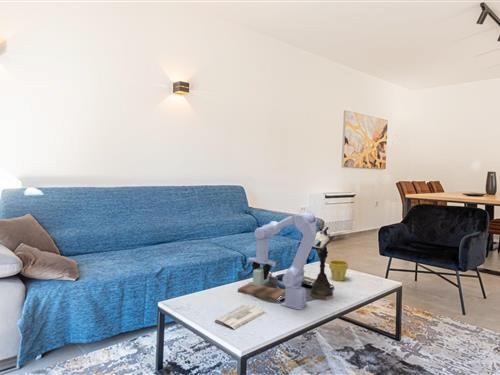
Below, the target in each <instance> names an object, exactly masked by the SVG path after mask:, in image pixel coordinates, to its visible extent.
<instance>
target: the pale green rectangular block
mask: <svg viewBox="0 0 500 375" xmlns="http://www.w3.org/2000/svg"><path fill="white" fill-rule="evenodd" d="M263 266H264V265H260V267H259V268H257V269H255V270H254V269H253V270H252V275H253V276H252V278H253V279H252V282H253V285H258V286H261V285H263V284H264V283H266V282H268V281H269V276H270V275H269V273H268V277H267V279H266V280H264V270H263Z"/></svg>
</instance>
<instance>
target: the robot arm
mask: <svg viewBox="0 0 500 375" xmlns="http://www.w3.org/2000/svg"><path fill="white" fill-rule="evenodd" d="M317 222H318V220H317V217H316V215H315V214H314V213H313V212H312V211H305V212H302V213H297V214H294V215H290V216H288V217H285V218H284V219H282V220H281V221H279V222H278V221H276V220H274V221H273V220H271V221H269V223H267V224H263V225H262V226H261V227H256V229H255V230H254V233H253V234H254V237H255V238H256V247H255V248H256V249H255V250H256V254H255V255H256V257H253V256H252V257H248V263H251V267H252V269H253V270H255V269H257V268H259V267H261V265H262V266H263V270H264V280H266V279H267V277H268V273H269V271H271V268H272V267H276V266H277V263H276V262H277V261H274V260H272V259H271V260H270V259H269V240H270V237H272V236H274V235H276V234H279V233H280V232H281V229H284V228H286V227H288V226H291V225H292V226H295V227H296V228H297V229H298V231H299V232H300V233H301V235H302V238H301V241H300V244H299V246H298V249H297V252H296V254H295V256H294V259H293V261H292V264H291V265H290V266H289V268H288V269H287V270H286V272H285V273H284V275H282V283H283V285H284V289H285V296H284V301H283V302H281V304H280V305H281V306H284V307H288V308H291V309H295V310H298V311H299V310H301V309H302V308H304V307H305V306H306V305H307V289H306V288H305V287H302V282H303V281H304V280H305V269H304V268H305V265H306V263H307V260H308V258H309V255H310V253H311V250H312V249H311V248H312V246H313V243H314V241H315V238H316V234H317Z"/></svg>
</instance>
